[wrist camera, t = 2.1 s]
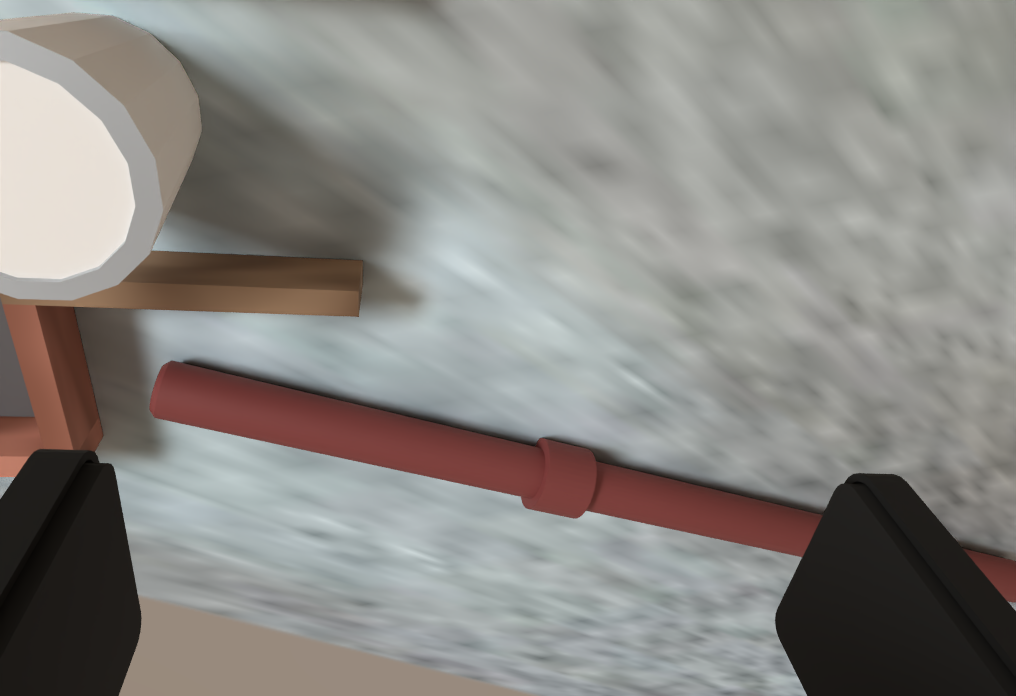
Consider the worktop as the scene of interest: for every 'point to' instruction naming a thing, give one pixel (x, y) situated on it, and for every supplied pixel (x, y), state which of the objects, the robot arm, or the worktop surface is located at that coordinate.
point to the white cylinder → (87, 151)
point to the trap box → (151, 285)
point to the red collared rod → (490, 462)
